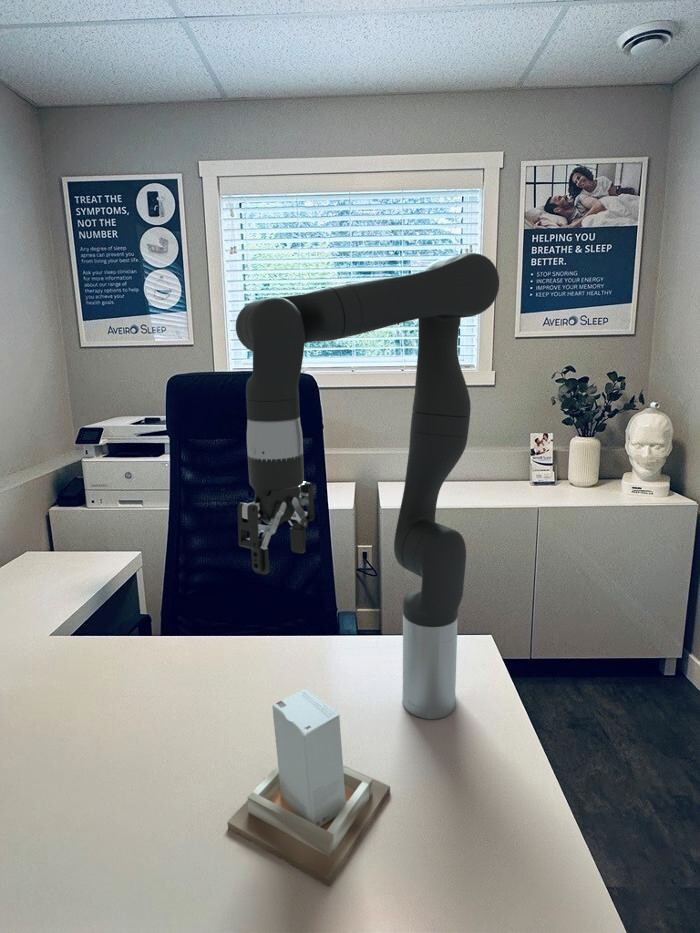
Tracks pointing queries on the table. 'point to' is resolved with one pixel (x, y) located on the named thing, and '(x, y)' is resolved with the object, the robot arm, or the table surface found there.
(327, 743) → the skincare box
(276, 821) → the holder board
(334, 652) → the table surface
